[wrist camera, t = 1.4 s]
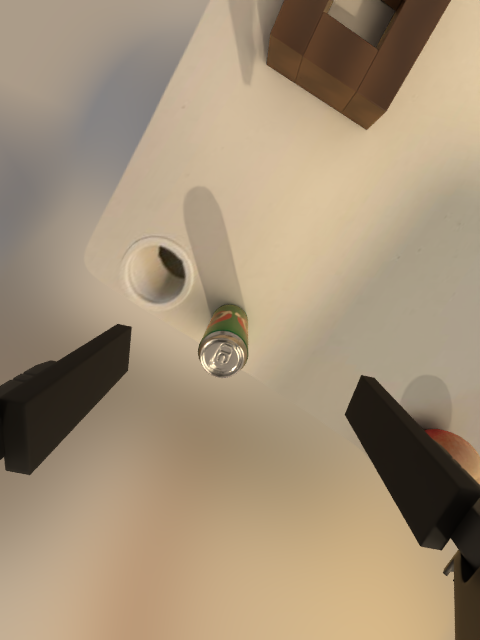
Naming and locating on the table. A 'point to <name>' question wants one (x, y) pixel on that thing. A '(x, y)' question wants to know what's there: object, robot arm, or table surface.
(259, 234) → the table surface
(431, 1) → the holder
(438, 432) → the fruit
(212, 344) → the soda can
